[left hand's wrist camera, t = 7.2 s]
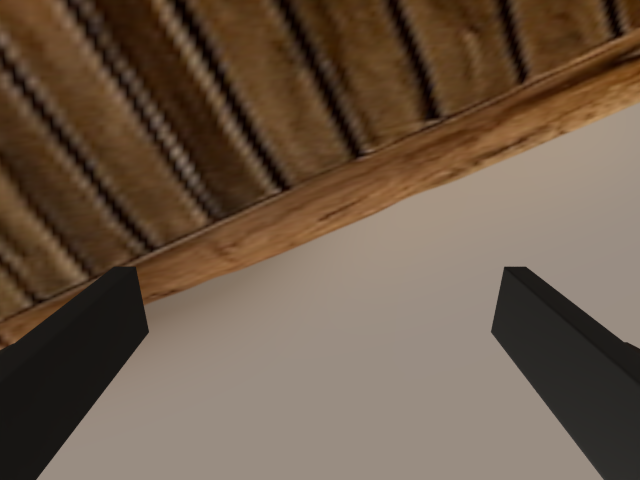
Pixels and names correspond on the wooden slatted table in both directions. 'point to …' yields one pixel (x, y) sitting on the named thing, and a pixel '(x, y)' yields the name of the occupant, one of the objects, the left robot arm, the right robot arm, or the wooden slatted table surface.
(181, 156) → the wooden slatted table surface
